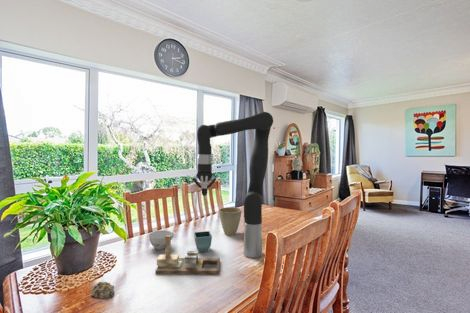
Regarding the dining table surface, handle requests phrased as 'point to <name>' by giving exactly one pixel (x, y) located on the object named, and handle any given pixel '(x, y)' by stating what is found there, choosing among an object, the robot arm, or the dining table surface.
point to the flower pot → (203, 240)
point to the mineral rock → (103, 290)
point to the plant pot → (230, 219)
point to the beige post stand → (167, 255)
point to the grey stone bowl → (159, 238)
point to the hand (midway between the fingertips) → (204, 195)
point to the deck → (192, 265)
